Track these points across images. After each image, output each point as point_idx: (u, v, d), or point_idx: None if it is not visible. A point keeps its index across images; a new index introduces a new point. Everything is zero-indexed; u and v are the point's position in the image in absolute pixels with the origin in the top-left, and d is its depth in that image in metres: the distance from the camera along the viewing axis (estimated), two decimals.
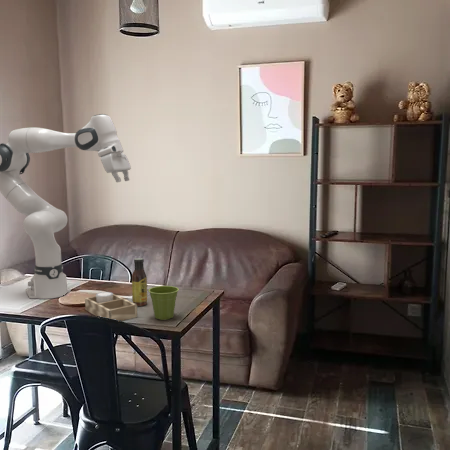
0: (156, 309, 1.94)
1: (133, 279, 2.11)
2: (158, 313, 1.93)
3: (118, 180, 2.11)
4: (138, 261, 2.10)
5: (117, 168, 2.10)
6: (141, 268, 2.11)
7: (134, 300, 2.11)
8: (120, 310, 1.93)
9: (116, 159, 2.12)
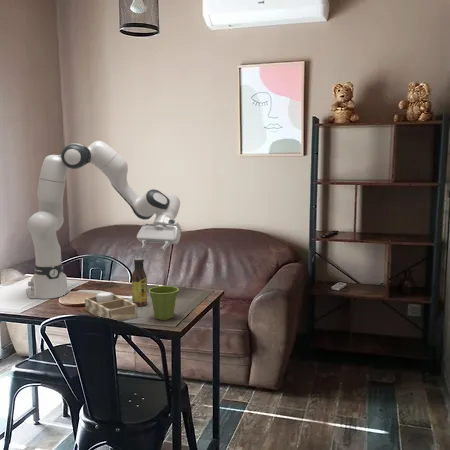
0: (156, 309, 1.94)
1: (133, 279, 2.11)
2: (158, 313, 1.93)
3: (164, 249, 2.21)
4: (138, 261, 2.10)
5: None
6: (141, 268, 2.11)
7: (134, 300, 2.11)
8: (120, 310, 1.93)
9: None
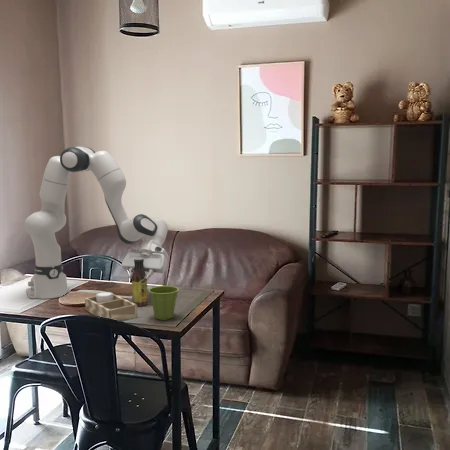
0: (156, 309, 1.94)
1: (133, 279, 2.11)
2: (158, 313, 1.93)
3: (148, 279, 2.11)
4: (138, 261, 2.10)
5: None
6: (141, 268, 2.11)
7: (134, 300, 2.11)
8: (120, 310, 1.93)
9: None
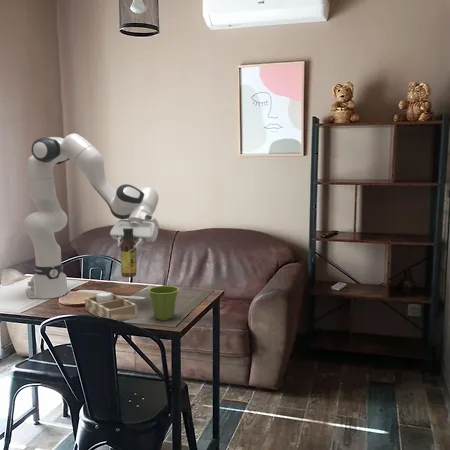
0: (156, 309, 1.94)
1: (122, 249, 2.02)
2: (158, 313, 1.93)
3: (137, 247, 2.02)
4: (127, 230, 2.02)
5: None
6: (130, 237, 2.02)
7: (123, 271, 2.03)
8: (120, 310, 1.93)
9: None
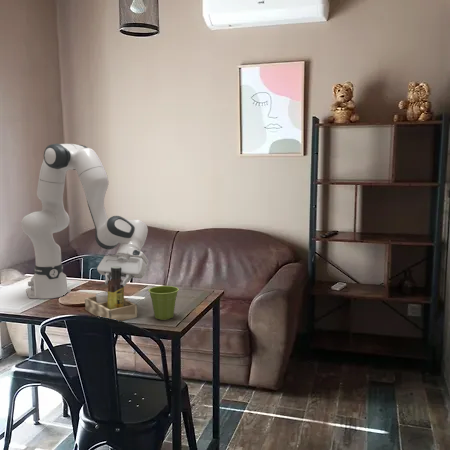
0: (156, 309, 1.94)
1: (109, 289, 1.95)
2: (159, 313, 1.93)
3: (124, 284, 1.95)
4: (115, 270, 1.94)
5: None
6: (118, 277, 1.95)
7: None
8: (120, 310, 1.93)
9: None
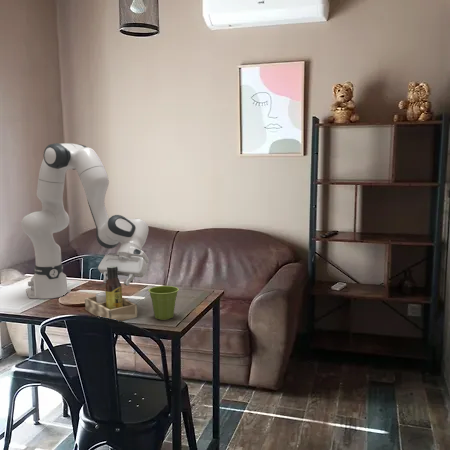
0: (156, 309, 1.94)
1: (106, 289, 1.96)
2: (159, 313, 1.93)
3: (128, 284, 1.96)
4: (111, 269, 1.95)
5: None
6: (114, 277, 1.96)
7: None
8: (120, 310, 1.93)
9: None
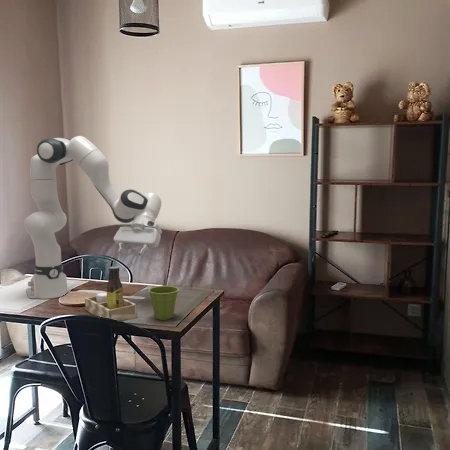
0: (156, 309, 1.94)
1: (107, 289, 1.95)
2: (159, 313, 1.93)
3: (142, 253, 2.06)
4: (113, 270, 1.95)
5: None
6: (116, 277, 1.95)
7: None
8: (120, 310, 1.93)
9: None
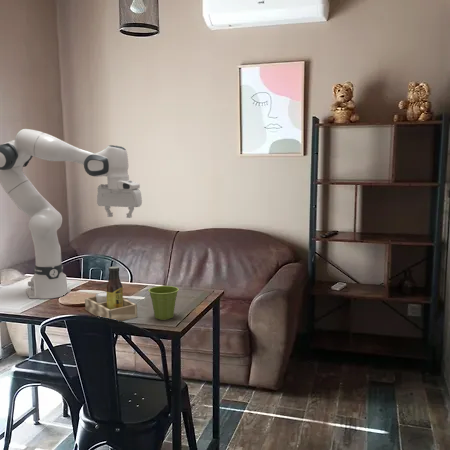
0: (156, 309, 1.94)
1: (107, 289, 1.96)
2: (159, 313, 1.93)
3: (131, 216, 2.11)
4: (113, 270, 1.95)
5: None
6: (116, 277, 1.95)
7: None
8: (120, 310, 1.93)
9: None
